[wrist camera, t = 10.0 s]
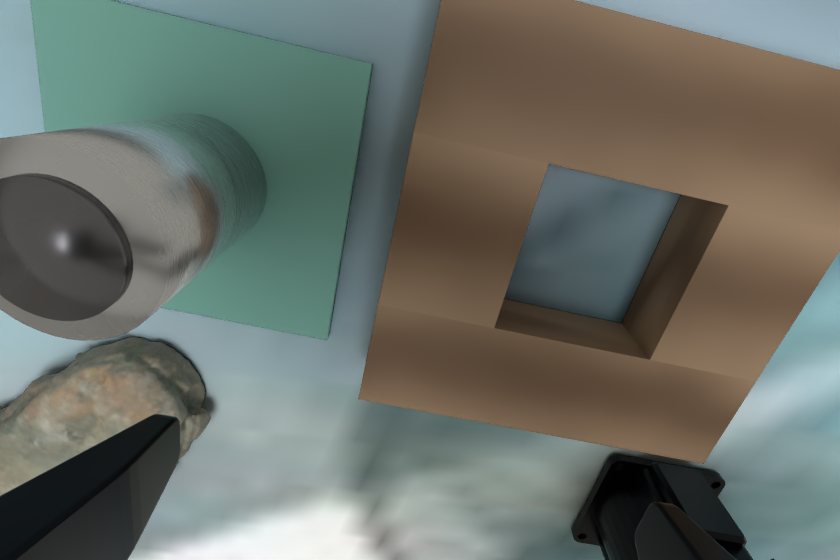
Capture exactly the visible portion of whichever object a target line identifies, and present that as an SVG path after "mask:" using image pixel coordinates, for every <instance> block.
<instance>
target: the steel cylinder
mask: <svg viewBox="0 0 840 560" xmlns="http://www.w3.org/2000/svg"><path fill="white" fill-rule="evenodd" d="M266 196H267V185H266V178H265V174H264V170H263V167H262V165H261V162H260V160H259V158H258V156H257V154H256V153H255V151H254V150H253V148H252V147H251V145H250V144H249V143H248V142H247V141H246V140H245V139H244V137H242V136H241V135H240V134H239V133H238V132H237V131H236V130H234V129H233V128H231V127H230V126H229V125H227V124H225V123H223V122H221V121H219V120H217V119H215V118H212V117H209V116H205V115H200V114H177V115H170V116H162V117H155V118H148V119H140V120H133V121H125V122H118V123H111V124H103V125H96V126H88V127H81V128H73V129H66V130H59V131H51V132H44V133H36V134H29V135H22V136H14V137H7V138H0V309H1V310H2V311H4V312H5V313H7V314H8V315H10V316H11V317H13V318H14V319H16V320H18V321H20V322H21V323H23V324H25V325H27V326H29V327H32V328H34V329H36V330H39V331H41V332H44V333H47V334H50V335H53V336H57V337H62V338H66V339H74V340H102V339H108V338H112V337H116V336H120V335H122V334H124V333H127V332H129V331H131V330H133V329H134V328H136V327H138V326H139V325H140V324H141V323H143V322H144V321H145V320H146V319H147V318H149V317H150V316H151V315H152V314H153V313H154V312H156V311H157V310H158V309H159V308H160V307H161V306H163V305H164V304H165V303H166V302H167V301H168V300H169V299H171V298H172V297H173V296H174V295H175V294H176V293H178V292H179V291H180V290H181V289H182V288H183V287H184V286H186V285H187V284H188V283H189V282H190V281H191V280H193V279H194V278H195V277H196V276H197V275H198V274H199V273H201V272H202V271H203V270H204V269H205V268H206V267H208V266H209V265H210V264H211V263H212V262H213V261H214V260H216V259H217V258H218V257H219V256H220V255H221V254H223V253H224V252H225V251H226V250H227V249H228V248H229V247H231V246H232V245H233V244H234V243H235V242H236V241H238V240H239V239H240V238H241V237H242V236H243V235H245V234H246V233H247V232H248V231H249V230H250V229H251V228H252V227H253V226H254V225H255V224H256V223H257V221H258V220H259V218H260V216H261V214H262V212H263V210H264V206H265V203H266Z"/></svg>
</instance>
